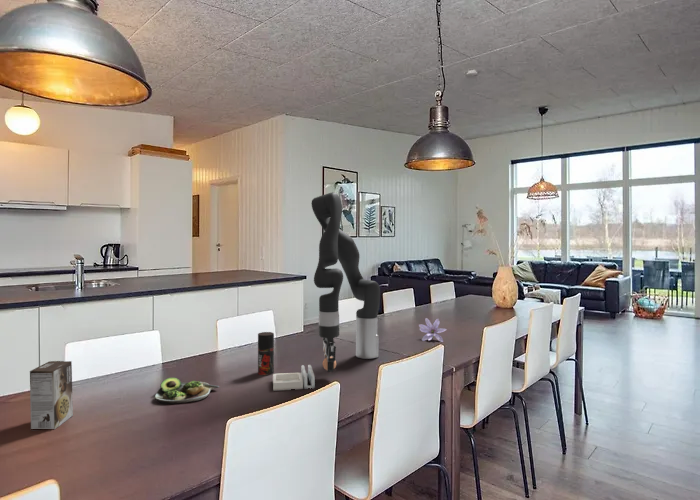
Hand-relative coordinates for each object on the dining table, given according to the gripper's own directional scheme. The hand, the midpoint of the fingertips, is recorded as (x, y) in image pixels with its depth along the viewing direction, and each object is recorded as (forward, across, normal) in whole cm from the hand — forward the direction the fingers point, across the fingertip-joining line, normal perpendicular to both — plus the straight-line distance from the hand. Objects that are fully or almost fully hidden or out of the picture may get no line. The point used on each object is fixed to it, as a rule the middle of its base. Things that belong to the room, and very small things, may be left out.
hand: (329, 369), depth 158 cm
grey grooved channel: (+3, -2, +8) cm, 9 cm away
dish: (+3, -4, +16) cm, 16 cm away
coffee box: (+2, -22, +81) cm, 84 cm away
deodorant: (+4, +12, +23) cm, 26 cm away
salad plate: (+3, -6, +50) cm, 50 cm away
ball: (0, 0, 0) cm, 0 cm away
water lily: (+5, +50, -60) cm, 78 cm away
